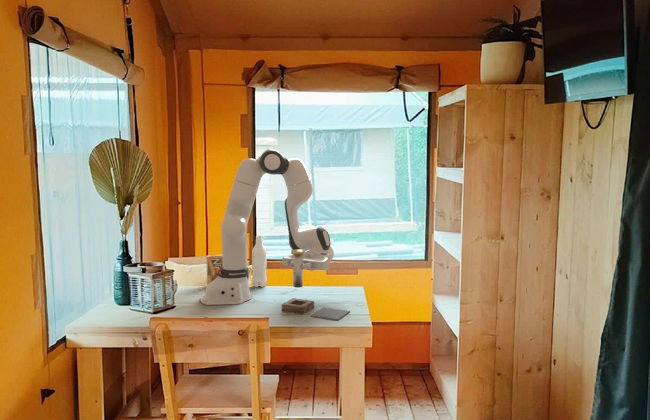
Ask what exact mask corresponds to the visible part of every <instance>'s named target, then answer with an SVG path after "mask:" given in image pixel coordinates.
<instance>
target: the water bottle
mask: <svg viewBox="0 0 650 420" xmlns="http://www.w3.org/2000/svg"><path fill="white" fill-rule="evenodd" d="M251 251H252V252H251V256H252V257H251V266H252V278H251V281H252V285H253V286H254V287H255V288H259V286H260V288H265V286H266V285H267V282H268V278H267V265H268V264H267V253H268V252H267V250H266V247H265V246H264V243H263V236H262V235H256V236H255V244H254V246H253V248H252V250H251Z"/></svg>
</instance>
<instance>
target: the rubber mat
mask: <svg viewBox="0 0 650 420" xmlns="http://www.w3.org/2000/svg"><path fill="white" fill-rule="evenodd" d="M350 312H351V311H350V310H346V309H339V308H332V307H326V306H324V307H321V308H320V309H318V310H316V311H315V312H313V313H311V314H310V317H312V318H318V319H319V318H320V319H324V320H330V321H337V322H338V321H340V320H341V319H342V318H344V317H345V316H347V315H348V314H349V313H350Z"/></svg>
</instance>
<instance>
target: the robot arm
mask: <svg viewBox="0 0 650 420" xmlns="http://www.w3.org/2000/svg"><path fill="white" fill-rule="evenodd" d="M265 174H268V175H281V176H282V178H283V180H284V182H285V183H284V184H285V186H286V189H287V191H286V192H287V196H286V198H285V199H284V211H285V219H286V223H287V229H288V245H289V247H290V249H291V250H295V249H301V250H305V254H303V264H301V268H302V269H304V270H305V269H306V270H308V271H317V270H318V271H327V270H330V267H331V261H333V258H334V256H335V255H334V254H335V252H334V249H333V247H332V246H331V238H330V235H329V232H328V231H327V230H326V228H324V227H323V226H322V225H321V226H320V225H318V226H313V227H310V228H307V229H302V230H301V229H300V224H299V223H300V222H299V217H298V211H299V208H300V207H301V206H302V205H303V204H305V203H306V202H308V200H309V199H310V198H311V197H312V194H313V184H312V181H311V177H310V175H309V173H308V170H307V167H306V165H305V164H304V162H303V161H302V160H301V159H299V158H289V159H288V158H287V157H286V156H285V155H283V152H281V151H280V150H278V149H276V148H270V149H266V150H264V152H263V153H261V155H260V156H258V158H257V159H255V158H251V157H250V158H249V157H248V158H244V159H243V160H242V161H241V162H240V164H239V166H238V168H237V171H236V173H235V176H234V179H233V183H232V186H231V190H230V193H229V197H228V200H227V201H228V202H227V204H226V208H225V211H224V215H223V219H222V221H221V224H220V225H221V226H220V228H221V230H220V233H221V236H220V237H221V248H222V249H221V250H222V254H221V255H222V262H223V267H222V268H221V269H220V268H217V269H216V272H217V273H218V277H217V278H216V279H215V280H213V281H212V282H211V283H209V284H208V285H207V284H206V288H205V291H204V292H205V294H203V295H201V296H200V297H199V298H200V303H202V304H203V305H206V306H211V305H212V306H215V305H216V306H217V305H218V306H219V305H220V306H221V305H240V304H243V303H244V302H246V301H249V300H251V299H252V295H251V294H252V293H251V292H250V291H251V290H250V285H249V277H250V271H249V270H250V269H249V267H248V223H249V219H250V216H251V214H252V210H253V206H254V204H255V200H256V196H257V193H258V189H259V187H260V183H261V179H262V177H263V176H264V175H265ZM282 265H283V266H284V267H289V268H293V254H291V255H287V256H284V257H282Z"/></svg>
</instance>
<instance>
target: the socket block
mask: <svg viewBox="0 0 650 420" xmlns="http://www.w3.org/2000/svg"><path fill="white" fill-rule="evenodd" d="M314 308H315V300H311V299H309V300H308V299H302V298H295V297H294V298H291V299H289V300H287V301H285V302H283V303H281V312H285V313H292V314H299V315H305V314H306V313H308V312H309V311H311V310H314Z"/></svg>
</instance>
